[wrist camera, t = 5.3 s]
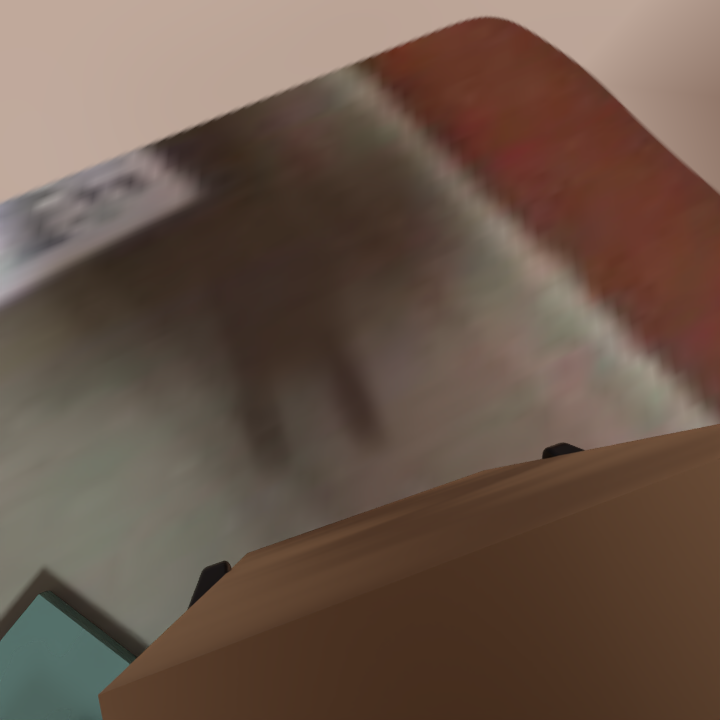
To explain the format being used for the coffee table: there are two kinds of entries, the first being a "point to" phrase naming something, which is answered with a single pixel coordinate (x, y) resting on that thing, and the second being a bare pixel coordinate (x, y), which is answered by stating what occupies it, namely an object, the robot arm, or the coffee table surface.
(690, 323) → the coffee table surface
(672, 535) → the tan cardboard brick
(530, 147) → the coffee table surface
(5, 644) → the teal holder base
